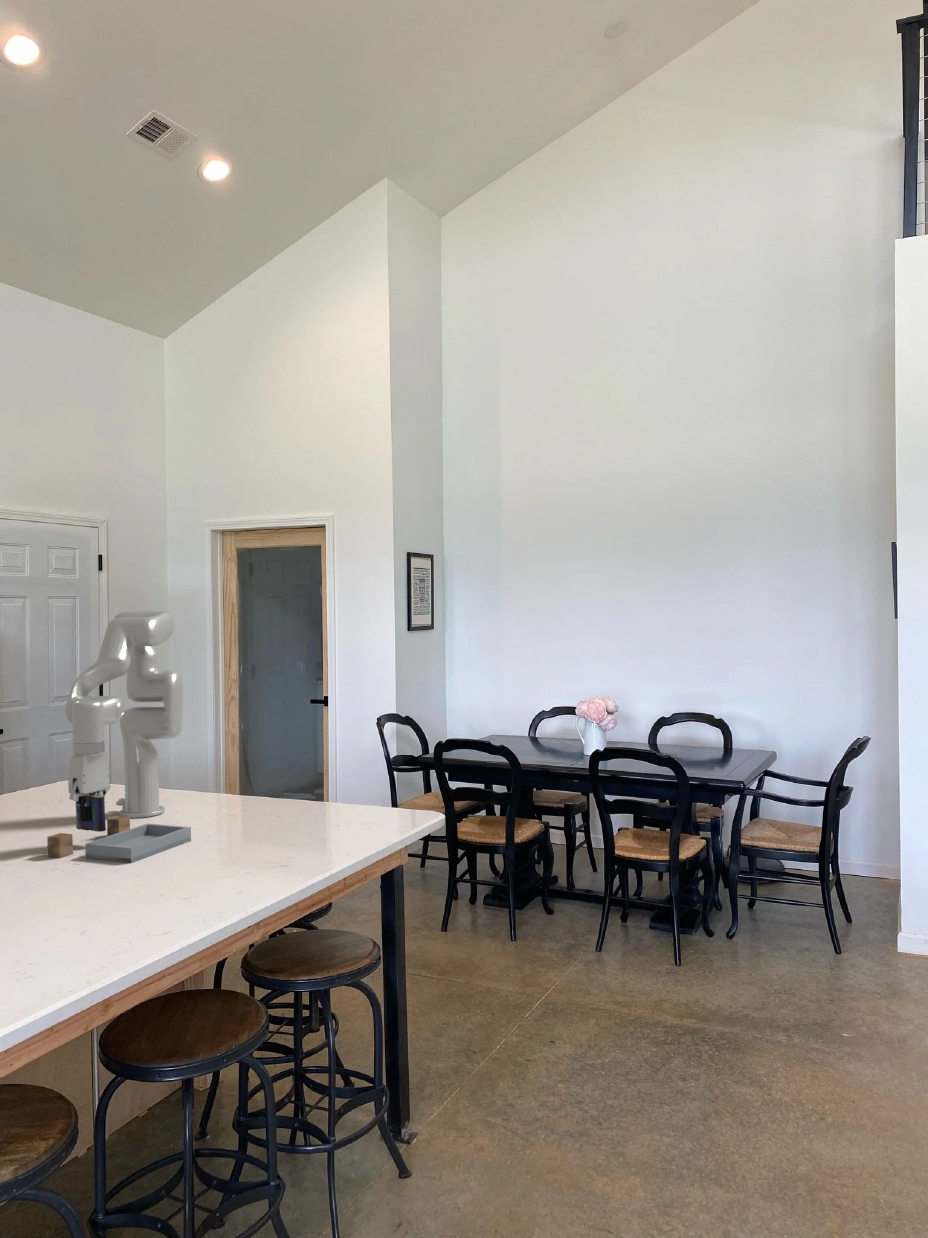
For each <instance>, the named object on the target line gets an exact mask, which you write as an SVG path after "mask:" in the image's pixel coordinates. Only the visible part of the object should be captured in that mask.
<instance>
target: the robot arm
mask: <svg viewBox="0 0 928 1238" xmlns="http://www.w3.org/2000/svg"><path fill="white" fill-rule="evenodd" d="M174 632H175V620H174V617H173V615H172V614H171V613H170V612H168V611H166V610H146V611H145V610H144V611H143V610H134V611H123V612H119V613H118V614H116V615H115V616H114V618H113V619H112V620H111V621H109V622H108V625H107V626H106V629H105V633H104V635H103V639H102V643H101V647H100V650H99V654H98V657H97V660H96V661H95V662H94V663H93V664H92V665H90V666H89V667H87V668H86V669H85V670H84V671H82V673H81V674H80V675H79V676H77V678H76V679H75V680H74V682H73V683H72V685H71V688H70V690H69V693H68V697H67V701H66V703H65V704H66V706H65V716H66V720H67V721H68V722H69V723H71V725H72V727H71V728H72V752H73V753H72V755H71V756H70V760H69V766H68V779H67V780H68V781H67V782H68V783H67V784H68V787H67V788H68V794H69V799H70V800H71V801H74V802H75V803H76V802H77V803H78V806H80V820H81V821H86V822H90V821H92V810H91V806H89V802H90V794H91V793H94V792H96V794H97V793H98V794H100V795H103V796H104V797H106V794H107V792H109V791H110V790H111V784H110V765H109V760H108V755H107V751H106V743H107V742H106V741H105V725H114V724H116V723H118V722H119V727H120V733H121V738H122V744H123V759H124V760H123V765H124V766H123V767H124V769H123V770H124V773H123V774H124V797H120V798H118V800H116V802H115V804H116V806H120V807H121V806H122V809H121V810H119V816H128V817H130V819H131V818H132V819H135V818H136V819H137V818H139V819H140V818H148V817H154V816H159V815H161V814H164V812H165V810H166V809H165V806H162V805H160V789H159V788H160V785H159V781H160V780H159V779H160V778H159V776H160V775H159V752H158V750H157V748H156V746H155V745H154V743H152V741H151V740H170V739H175V738H177V737H179V735H180V733H181V732H182V731H181V730H182V726H183V699H184V698H183V694H184V693H183V691H184V690H183V679H182V677H181V675H180V674H179V673H178V671H175V670H171V669H158V653H157V650H156V649H155V647H156V646H159V645H161V644H163V643H164V642H166V641H168V640H169V639H170V638H171V637H172V635H173V633H174ZM125 674H126V695H127V698H128V699H129V700H130V701H131V702H135V703H163V706H135V707H130V708H127V709H125V704H124V703H123V700H121V699H120V698H119V697H117V696H112V695H90V696H89V694H90V693H91V692H92V691H93V690H94V689H96V688H98V687H99V686H101V685H103V684H106V683H108V682H110V681H113V680H115V679H118V678H119V677H120V678H121V677H122V676H124V675H125ZM83 796H84V797H85V800H84V799H83Z"/></svg>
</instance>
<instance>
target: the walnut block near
mask: <svg viewBox="0 0 928 1238" xmlns="http://www.w3.org/2000/svg"><path fill="white" fill-rule="evenodd" d="M73 839H74V838H73V833H67V832H66V833H65V832H58V833H55V834H52V835H49V836H47V841H46V842H47V858H55V859H63V858H65V857H68V856H71V855H73V854H74V850H73V848H74V847H73V846H74V845H73V841H74V840H73Z"/></svg>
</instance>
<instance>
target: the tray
mask: <svg viewBox="0 0 928 1238" xmlns="http://www.w3.org/2000/svg"><path fill="white" fill-rule="evenodd" d="M191 841H192V827H191V826H181V825H180V826H179V825H170V824H158V823H146V824H145V823H144V824H142V825H139V826H136V827H132V828H130V829H129V830H126V831H123V832H120V833H117V834H114V835H111V836H107V835H106V836H105V837H102V838H99V839H96V840H93V841H90V842H86V843H85V847H84V851H85V852H84V853H85V859H92V860H101V861H109V862H118V863H119V862H120V863H128V864H132V863H135V862H139V861H140V860H143V859H146V858H148V857H151V856H154V855H156V854H159V853H162V852H165V851H167V850H170V849H173V848H176V847H178V846H181V845H183V844H186V843H189V842H191Z"/></svg>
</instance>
